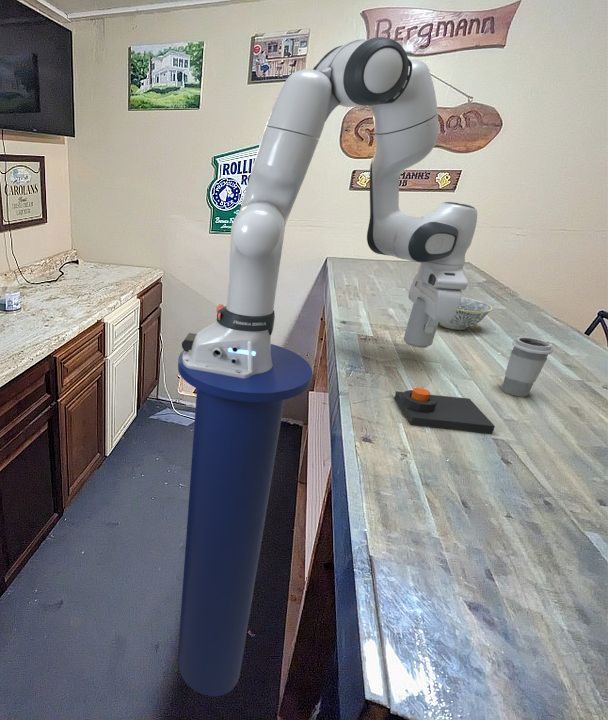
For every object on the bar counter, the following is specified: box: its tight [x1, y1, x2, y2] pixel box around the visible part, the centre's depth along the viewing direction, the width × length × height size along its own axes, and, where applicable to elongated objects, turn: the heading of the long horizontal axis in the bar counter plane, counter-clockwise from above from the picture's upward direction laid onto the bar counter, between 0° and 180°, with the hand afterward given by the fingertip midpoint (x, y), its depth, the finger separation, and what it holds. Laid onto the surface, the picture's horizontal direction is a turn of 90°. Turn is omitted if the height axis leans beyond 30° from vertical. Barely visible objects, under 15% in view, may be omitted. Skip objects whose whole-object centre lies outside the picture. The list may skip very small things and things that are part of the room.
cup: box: [501, 336, 554, 397], centre depth 99 cm, size 7×7×12 cm
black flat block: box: [394, 389, 496, 434], centre depth 92 cm, size 14×11×4 cm
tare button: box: [411, 387, 431, 402], centre depth 92 cm, size 3×3×2 cm
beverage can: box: [403, 297, 439, 349], centre depth 115 cm, size 6×6×12 cm
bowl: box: [439, 296, 493, 331], centre depth 139 cm, size 16×16×8 cm
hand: (422, 327), depth 116 cm, fingers closed on beverage can, 6 cm apart
